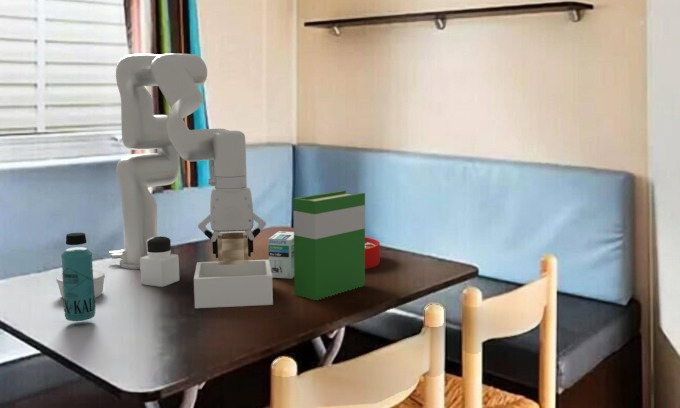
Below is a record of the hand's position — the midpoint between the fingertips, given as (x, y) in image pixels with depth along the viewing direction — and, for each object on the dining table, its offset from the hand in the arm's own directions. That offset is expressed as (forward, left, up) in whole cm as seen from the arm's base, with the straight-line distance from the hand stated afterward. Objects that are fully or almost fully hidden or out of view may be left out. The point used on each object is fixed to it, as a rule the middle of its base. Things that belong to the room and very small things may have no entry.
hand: (233, 255), depth 177 cm
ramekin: (-37, +7, -11) cm, 39 cm away
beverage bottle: (-33, -15, -11) cm, 38 cm away
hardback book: (+24, +2, -11) cm, 26 cm away
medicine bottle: (-19, +16, -11) cm, 27 cm away
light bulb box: (+14, +20, -11) cm, 27 cm away
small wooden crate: (0, 0, -1) cm, 1 cm away
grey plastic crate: (0, 0, -10) cm, 10 cm away
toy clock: (+32, +31, -11) cm, 46 cm away
